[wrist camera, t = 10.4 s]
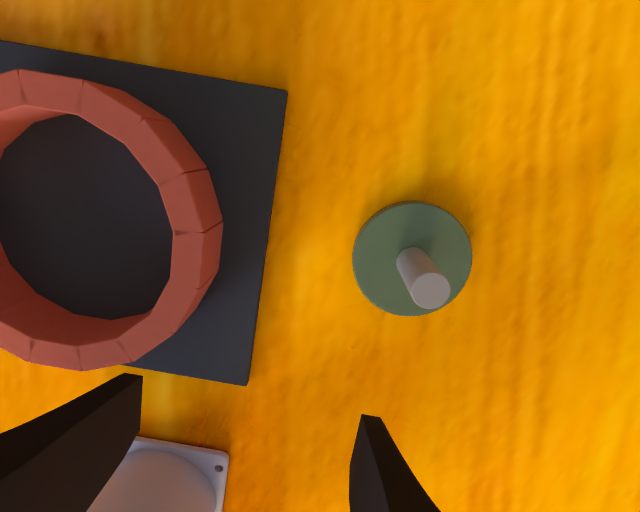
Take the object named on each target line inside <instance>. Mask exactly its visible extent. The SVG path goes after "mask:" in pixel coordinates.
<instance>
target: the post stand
mask: <svg viewBox="0 0 640 512" xmlns="http://www.w3.org/2000/svg"><path fill="white" fill-rule="evenodd" d="M352 263H353V271H354V276H355V279H356V282H357V284H358V286H359V288H360V290H361V291H362V293H363V294H364V295H365V297H366V298H367V299H368V300H369V301H370V302H371V303H373V304H374V305H375V306H377V307H378V308H380V309H382V310H384V311H386V312H389V313H391V314H395V315H400V316H419V315H424V314H428V313H431V312H434V311H436V310H438V309H440V308H442V307H443V306H445V305H446V304H448V303H449V302H450V301H452V300H453V299H454V298H455V297H456V296H457V295H458V293H459V292H460V291H461V289H462V288H463V287H464V285H465V283H466V281H467V279H468V276H469V273H470V270H471V265H472V249H471V244H470V240H469V238H468V235H467V233H466V231H465V229H464V228H463V226H462V225H461V224H460V222H459V221H458V220H457V219H456V218H455V217H454V216H452V215H451V214H450V213H448V212H447V211H445V210H443V209H442V208H440V207H438V206H436V205H433V204H430V203H426V202H421V201H405V202H399V203H396V204H392V205H390V206H387V207H385V208H383V209H382V210H380V211H378V212H377V213H376V214H374V215H373V216H372V217H371V218H370V219H369V220H368V221H367V222H366V223H365V224H364V226H363V227H362V228H361V230H360V232H359V234H358V236H357V238H356V240H355V244H354V247H353V254H352Z"/></svg>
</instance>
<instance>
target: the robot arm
mask: <svg viewBox="0 0 640 512" xmlns="http://www.w3.org/2000/svg"><path fill="white" fill-rule="evenodd" d="M142 384H143V376H140V375H134V374H129V373H123V374H121V375H119V376H117V377H115V378H113V379H111V380H109V381H107V382H106V383H104V384H102V385H100V386H98V387H96V388H94V389H93V390H91V391H89V392H87V393H85V394H83V395H81V396H79V397H77V398H76V399H74V400H72V401H70V402H68V403H66V404H64V405H62V406H60V407H58V408H56V409H54V410H52V411H50V412H48V413H46V414H43V415H41V416H39V417H37V418H35V419H33V420H31V421H29V422H27V423H24V424H22V425H20V426H18V427H15V428H13V429H11V430H8V431H6V432H3V433H1V434H0V512H222V511H223V503H224V496H225V488H226V480H227V472H228V465H229V456H228V454H227V453H226V452H224V451H220V450H214V449H208V448H202V447H197V446H191V445H185V444H179V443H174V442H168V441H162V440H156V439H151V438H145V437H139V436H137V434H138V432H139V430H140V421H141V402H142ZM218 465H221V466H222V467H219V466H218ZM349 503H350V512H441V511H440V510H439V509H438V508H437V506H436V505H435V504H434V503H433V501H432V500H431V499H430V497H429V496H428V495H427V493H426V492H425V490H424V489H423V488H422V486H421V485H420V483H419V482H418V480H417V479H416V477H415V476H414V474H413V473H412V471H411V470H410V468H409V466H408V465H407V463H406V461H405V460H404V458H403V457H402V455H401V453H400V452H399V450H398V448H397V446H396V445H395V443H394V441H393V439H392V437H391V436H390V434H389V432H388V430H387V428H386V426H385V424H384V423H383V421H382V419H381V418H380V417H375V416H370V415H364V414H362V415H361V419H360V423H359V428H358V432H357V436H356V440H355V445H354V449H353V453H352V458H351V462H350V475H349Z"/></svg>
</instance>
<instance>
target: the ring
mask: <svg viewBox="0 0 640 512" xmlns="http://www.w3.org/2000/svg"><path fill="white" fill-rule="evenodd" d="M64 114H74V115H78V116H80V117H82V118H83V119H85V120H87V121H88V122H90V123H91V124H93V125H95V126H96V127H98V128H100V129H101V130H103V131H104V132H106V133H108V134H109V135H111V136H113V137H114V138H116V139H117V140H119V141H121V142H122V143H124V144H125V145H126V146H127V148H128V149H129V150H130V151H131V153H132V154H133V155H134V156H135V158H136V159H137V160H138V161H139V163H140V164H141V165H142V166H143V168H144V169H145V170H146V171H147V173H148V174H149V175H150V176H151V178H152V179H153V180H154V182H155V183H156V184H157V185H158V188H159V191H160V194H161V197H162V200H163V203H164V206H165V209H166V212H167V215H168V218H169V221H170V224H171V227H172V230H173V243H172V258H171V272H170V279H169V281H168V283H167V285H166V286H165V288H164V290H163V292H162V294H161V296H160V297H159V299H158V301H157V303H156V305H155V307H154V308H152V309H151V310H150V311H148V312H147V313H145V314H140V315H135V316H130V317H125V318H120V319H115V320H106V319H101V318H95V317H89V316H83V315H78V314H73V313H71V312H70V311H68V310H66V309H64V308H62V307H61V306H59V305H57V304H55V303H53V302H52V301H50V300H48V299H46V298H44V297H43V296H41V295H39V294H37V293H36V292H35V291H34V289H33V288H32V287H31V286H30V285H29V284H28V283H27V282H26V281H25V280H24V279H23V278H22V277H21V275H20V274H19V273H18V272H17V271H16V270H15V269H14V268H13V267H12V266H11V265H10V262H9V260H8V258H7V256H6V253H5V251H4V249H3V247H2V244H1V242H0V347H1V348H2V349H4V350H6V351H8V352H10V353H12V354H14V355H16V356H17V357H19V358H21V359H23V360H25V361H27V362H29V361H30V362H31V363H35V364H41V365H46V366H52V367H58V368H64V369H70V370H75V371H88V370H93V369H99V368H104V367H109V366H114V365H119V364H125V363H130V362H132V361H133V362H134V361H136V360H137V359H139V358H140V357H142V356H143V355H144V354H146V353H147V352H149V351H150V350H152V349H153V348H155V347H156V346H157V345H159V344H160V343H162V342H163V341H165V340H166V339H168V338H169V337H171V336H172V335H173V334H174V333H175V332H176V331H177V330H178V329H179V328H180V326H181V325H182V324H183V323H184V322H185V321H186V320H187V318H188V317H189V316H190V315H191V314H192V313H193V312H194V311H195V309H196V308H197V307H198V305H199V303H200V301H201V300H202V298H203V296H204V294H205V293H206V291H207V289H208V288H209V286H210V284H211V282H212V281H213V279H214V277H215V276H216V274H217V272H218V269H219V262H220V252H221V242H222V233H223V223H224V222H223V221H222V220H223V217H222V214H221V211H220V207H219V204H218V200H217V197H216V194H215V190H214V187H213V184H212V180H211V177H210V173H209V171H208V170H207V169H206V168H207V166H206V165H205V164H204V162H203V161H202V160H201V158H200V157H199V156H198V154H197V153H196V152H195V150H194V149H193V148H192V146H191V145H190V144H189V142H188V141H187V140H186V138H185V137H184V136H183V135H182V133H181V132H180V131H179V129H178V128H177V127H176V125H175V124H174V123H172V121H171V120H170V119H168V118H166V117H165V116H163V115H162V114H160V113H158V112H157V111H155V110H154V109H152V108H150V107H149V106H147V105H146V104H144V103H142V102H141V101H139V100H138V99H136V98H135V97H133V96H131V95H130V94H128V93H127V92H125V91H122V90H120V89H116V88H113V87H109V86H105V85H102V84H98V83H94V82H90V81H87V80H83V79H78V78H72V77H66V76H61V75H55V74H49V73H43V72H38V71H32V70H26V69H20V70H19V69H15V70H11V71H8V72H4V73H1V74H0V159H1V157H2V154H3V151H4V149H5V148H6V147H7V146H8V145H9V144H10V143H12V142H13V141H14V140H15V139H16V138H17V137H18V136H19V135H20V134H21V133H23V132H24V131H25V130H26V129H27V128H28V127H29V126H30V125H31V124H33V123H34V122H38V121H42V120H45V119H49V118H53V117H57V116H60V115H64ZM205 169H206V170H205Z"/></svg>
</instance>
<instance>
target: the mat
mask: <svg viewBox="0 0 640 512" xmlns="http://www.w3.org/2000/svg"><path fill="white" fill-rule="evenodd" d="M15 69H19V70H20V69H26V70H32V71H38V72H43V73H49V74H55V75H61V76H66V77H72V78H78V79H83V80H87V81H90V82H94V83H98V84H102V85H105V86H109V87H113V88H116V89H120V90H122V91H125V92H127V93H128V94H130V95H131V96H133V97H135V98H136V99H138V100H139V101H141V102H142V103H144V104H146V105H147V106H149V107H150V108H152V109H154V110H155V111H157V112H158V113H160V114H162V115H163V116H165V117H166V118H168V119H170V120H171V121H172V123H174V124H175V125H176V127H177V128H178V129H179V131H180V132H181V133H182V135H183V136H184V137H185V138H186V140H187V141H188V142H189V144H190V145H191V146H192V148H193V149H194V150H195V152H196V153H197V154H198V156H199V157H200V158H201V160H202V161H203V162H204V164H205V165H206V166H207V168H206V169H207V170H208V171H209V173H210V177H211V180H212V184H213V187H214V190H215V194H216V197H217V200H218V204H219V207H220V211H221V214H222V217H223V220H222V221H223V222H224V223H223V233H222V242H221V252H220V262H219V269H218V272H217V274H216V276H215V277H214V279H213V281H212V282H211V284H210V286H209V288H208V289H207V291H206V293H205V294H204V296H203V298H202V300H201V301H200V303H199V305H198V307H197V308H196V309H195V311H194V312H193V313H192V314H191V315H190V316H189V317H188V318H187V320H186V321H185V322H184V323H183V324H182V325H181V326H180V328H179V329H178V330H177V331H176V332H175V333H174V334H173V335H172V336H171V337H169V338H168V339H166V340H165V341H163V342H162V343H160V344H159V345H157V346H156V347H155V348H153V349H152V350H150V351H149V352H147V353H146V354H144V355H143V356H142V357H140V358H139V359H137V360H136V361H134V362H133V361H132V362H130V363H125V364H120V365H126V366H131V367H137V368H143V369H148V370H154V371H160V372H166V373H171V374H177V375H183V376H189V377H194V378H200V379H206V380H212V381H217V382H223V383H229V384H234V385H240V386H247V383H248V381H249V374H250V366H251V359H252V352H253V344H254V337H255V330H256V322H257V315H258V308H259V300H260V293H261V286H262V279H263V271H264V264H265V257H266V249H267V242H268V235H269V227H270V220H271V213H272V205H273V198H274V191H275V184H276V176H277V169H278V162H279V154H280V147H281V140H282V132H283V125H284V118H285V110H286V103H287V96H288V92H287V91H286V90H282V89H276V88H271V87H265V86H259V85H254V84H248V83H242V82H236V81H231V80H225V79H219V78H214V77H208V76H202V75H197V74H191V73H185V72H180V71H174V70H168V69H163V68H157V67H151V66H146V65H140V64H134V63H129V62H123V61H117V60H112V59H106V58H100V57H95V56H89V55H83V54H78V53H72V52H66V51H60V50H55V49H49V48H43V47H38V46H32V45H26V44H21V43H15V42H9V41H4V40H0V74H1V73H4V72H8V71H11V70H15ZM206 169H205V170H206ZM0 242H1V244H2V247H3V249H4V251H5V253H6V256H7V258H8V260H9V262H10V265H11V266H12V267H13V268H14V269H15V270H16V271H17V272H18V273H19V274H20V275H21V277H22V278H23V279H24V280H25V281H26V282H27V283H28V284H29V285H30V286H31V287H32V288H33V289H34V291H35V292H36V293H37V294H39V295H41V296H43V297H44V298H46V299H48V300H50V301H52V302H53V303H55V304H57V305H59V306H61V307H62V308H64V309H66V310H68V311H70V312H71V313H73V314H78V315H83V316H89V317H95V318H101V319H106V320H115V319H120V318H125V317H130V316H135V315H140V314H145V313H147V312H148V311H150V310H151V309H152V308H154V307H155V305H156V303H157V301H158V299H159V297H160V296H161V294H162V292H163V290H164V288H165V286H166V285H167V283H168V281H169V279H170V272H171V258H172V243H173V230H172V227H171V224H170V221H169V218H168V215H167V212H166V209H165V206H164V203H163V200H162V197H161V194H160V191H159V188H158V185H157V184H156V183H155V182H154V180H153V179H152V178H151V176H150V175H149V174H148V173H147V171H146V170H145V169H144V168H143V166H142V165H141V164H140V163H139V161H138V160H137V159H136V158H135V156H134V155H133V154H132V153H131V151H130V150H129V149H128V148H127V146H126V145H125V144H124V143H122V142H121V141H119V140H117V139H116V138H114V137H113V136H111V135H109V134H108V133H106V132H104V131H103V130H101V129H100V128H98V127H96V126H95V125H93V124H91V123H90V122H88V121H87V120H85V119H83V118H82V117H80V116H78V115H74V114H64V115H60V116H57V117H53V118H49V119H45V120H42V121H38V122H34V123H33V124H31V125H30V126H29V127H28V128H27V129H26V130H25V131H24V132H23V133H21V134H20V135H19V136H18V137H17V138H16V139H15V140H14V141H13V142H12V143H10V144H9V145H8V146H7V147H6V148H5V149H4V151H3V154H2V157H1V159H0Z"/></svg>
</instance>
